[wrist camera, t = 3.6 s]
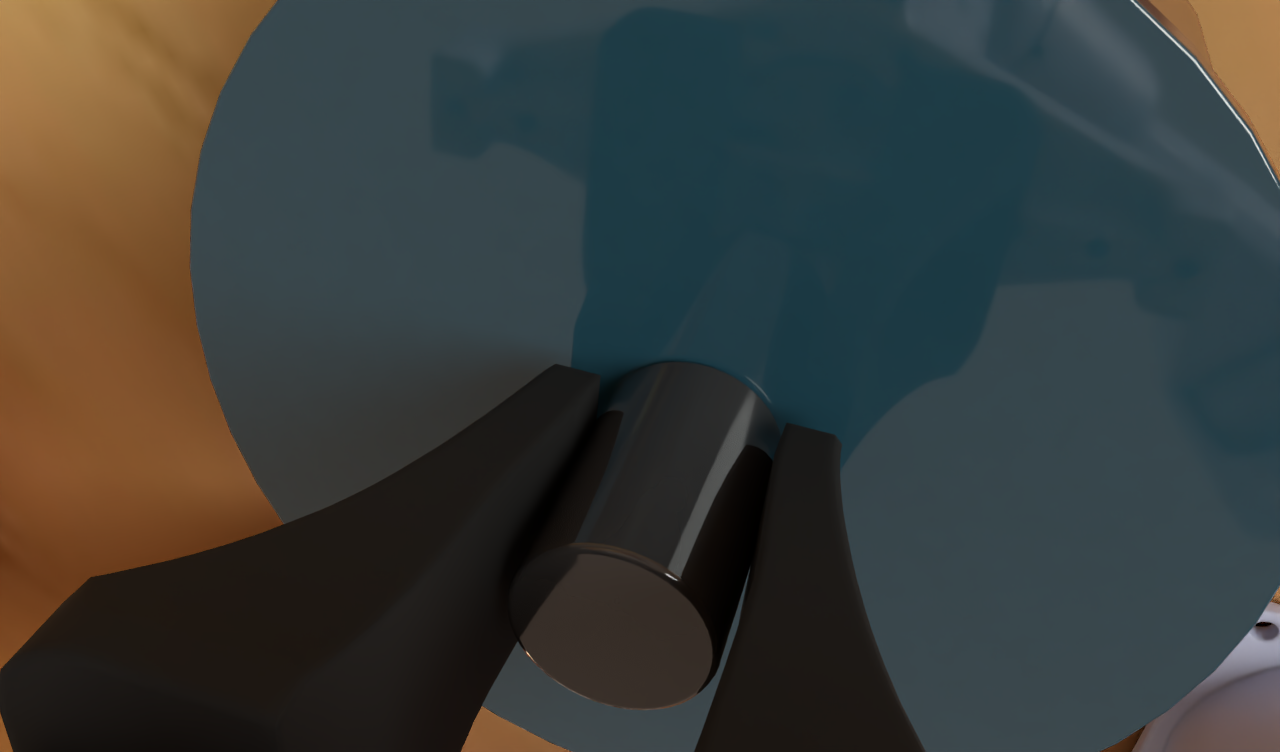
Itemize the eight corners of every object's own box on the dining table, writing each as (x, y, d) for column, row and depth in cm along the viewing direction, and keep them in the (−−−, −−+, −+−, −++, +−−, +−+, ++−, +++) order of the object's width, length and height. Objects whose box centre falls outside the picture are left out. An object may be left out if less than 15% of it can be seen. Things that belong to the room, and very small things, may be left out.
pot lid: (1266, -421, 10) (1383, -405, 6) (1346, 758, 17) (1425, 1099, 13) (47, 2, 16) (-259, 139, 12) (464, 753, 23) (347, 987, 19)
